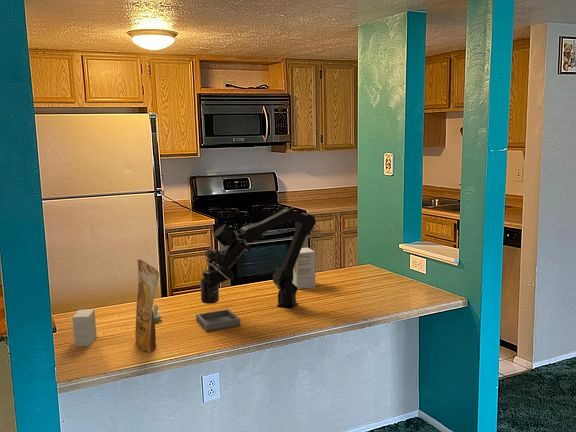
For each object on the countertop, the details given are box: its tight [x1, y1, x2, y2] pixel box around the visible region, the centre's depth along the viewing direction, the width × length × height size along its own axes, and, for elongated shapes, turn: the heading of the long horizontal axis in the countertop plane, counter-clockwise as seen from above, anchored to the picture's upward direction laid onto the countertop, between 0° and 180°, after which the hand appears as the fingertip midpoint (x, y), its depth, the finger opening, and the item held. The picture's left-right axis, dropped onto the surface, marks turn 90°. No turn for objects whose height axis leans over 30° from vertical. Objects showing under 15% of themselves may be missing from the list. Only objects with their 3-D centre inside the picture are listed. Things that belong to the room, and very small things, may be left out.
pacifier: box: [152, 303, 163, 323], centre depth 210 cm, size 7×6×6 cm
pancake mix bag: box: [134, 259, 160, 353], centre depth 185 cm, size 7×19×28 cm, turn 26°
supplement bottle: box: [200, 269, 220, 305], centre depth 209 cm, size 7×7×12 cm
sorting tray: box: [195, 308, 241, 332], centre depth 205 cm, size 13×13×2 cm
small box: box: [72, 308, 98, 347], centre depth 189 cm, size 8×6×10 cm
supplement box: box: [292, 247, 316, 290], centre depth 250 cm, size 10×9×17 cm
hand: (206, 285), depth 209 cm, fingers closed on supplement bottle, 6 cm apart
